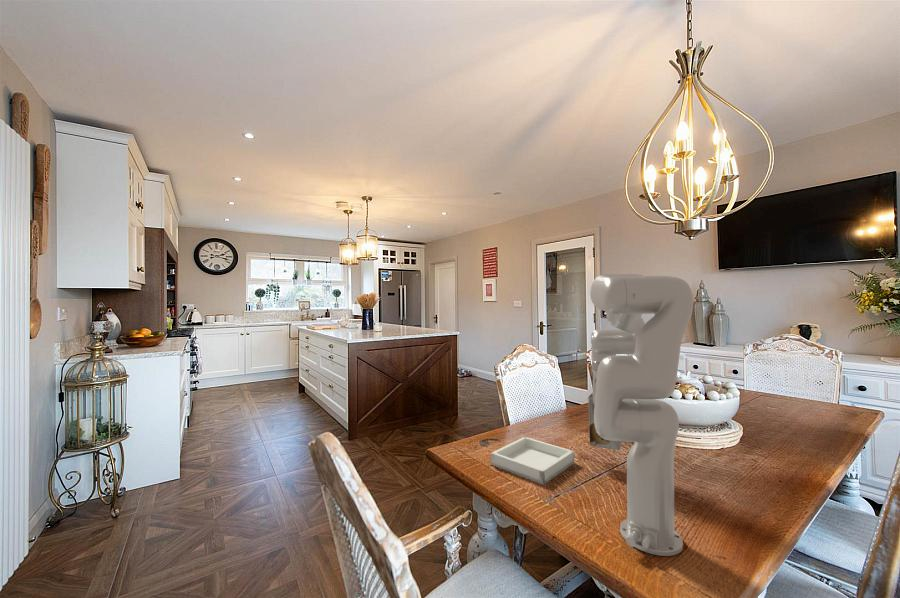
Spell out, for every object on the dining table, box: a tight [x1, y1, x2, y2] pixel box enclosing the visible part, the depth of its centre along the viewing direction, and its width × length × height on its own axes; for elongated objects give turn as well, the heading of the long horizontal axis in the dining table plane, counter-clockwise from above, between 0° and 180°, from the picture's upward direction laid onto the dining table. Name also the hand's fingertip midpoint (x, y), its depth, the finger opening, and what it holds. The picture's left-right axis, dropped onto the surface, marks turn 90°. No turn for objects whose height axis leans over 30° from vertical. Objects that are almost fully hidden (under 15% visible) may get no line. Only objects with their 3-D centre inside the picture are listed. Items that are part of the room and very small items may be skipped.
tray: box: [490, 436, 575, 486], centre depth 123 cm, size 20×19×4 cm
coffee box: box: [587, 392, 623, 451], centre depth 120 cm, size 9×6×16 cm
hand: (605, 421), depth 120 cm, fingers closed on coffee box, 7 cm apart
